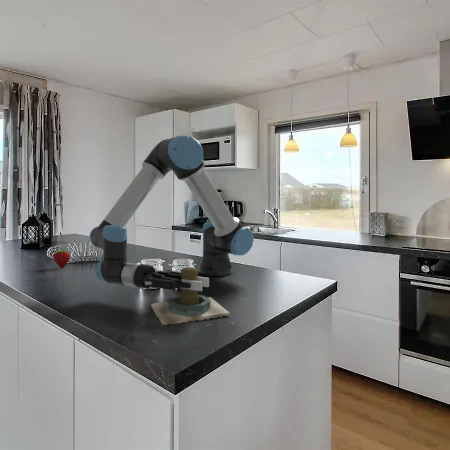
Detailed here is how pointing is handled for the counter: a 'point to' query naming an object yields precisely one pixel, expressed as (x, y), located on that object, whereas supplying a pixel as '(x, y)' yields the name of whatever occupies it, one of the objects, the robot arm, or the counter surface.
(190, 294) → the cork
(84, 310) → the counter surface
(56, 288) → the counter surface
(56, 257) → the strawberry
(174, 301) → the ring stand
